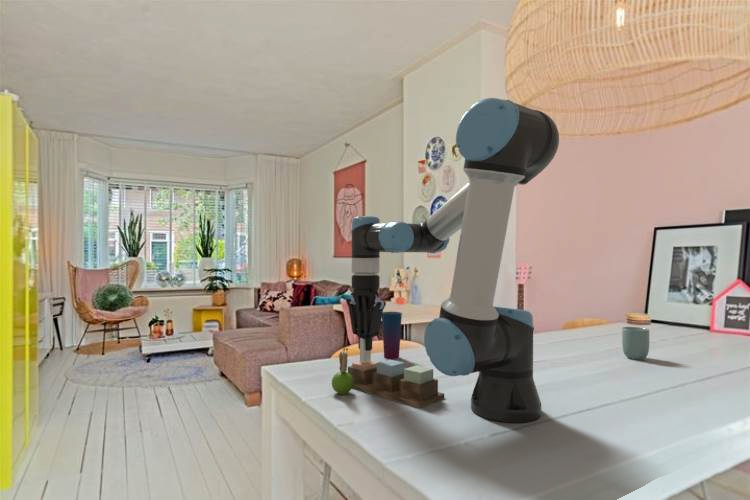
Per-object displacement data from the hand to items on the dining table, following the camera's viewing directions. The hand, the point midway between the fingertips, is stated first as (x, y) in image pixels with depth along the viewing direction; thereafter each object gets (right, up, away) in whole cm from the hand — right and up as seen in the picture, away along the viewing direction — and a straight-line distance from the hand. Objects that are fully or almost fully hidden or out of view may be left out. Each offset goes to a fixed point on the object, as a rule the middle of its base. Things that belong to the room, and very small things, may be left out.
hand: (365, 362), depth 121 cm
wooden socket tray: (+7, -6, -6) cm, 11 cm away
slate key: (+7, -2, -6) cm, 9 cm away
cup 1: (+8, -6, +31) cm, 32 cm away
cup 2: (+90, -7, +30) cm, 96 cm away
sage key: (+13, -2, -12) cm, 18 cm away
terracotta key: (0, -3, 0) cm, 3 cm away
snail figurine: (-5, -6, -9) cm, 12 cm away
